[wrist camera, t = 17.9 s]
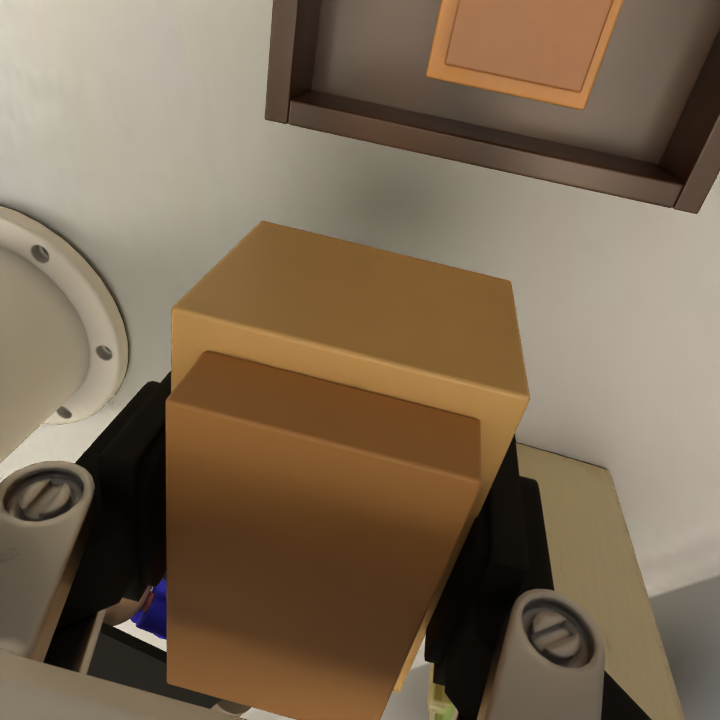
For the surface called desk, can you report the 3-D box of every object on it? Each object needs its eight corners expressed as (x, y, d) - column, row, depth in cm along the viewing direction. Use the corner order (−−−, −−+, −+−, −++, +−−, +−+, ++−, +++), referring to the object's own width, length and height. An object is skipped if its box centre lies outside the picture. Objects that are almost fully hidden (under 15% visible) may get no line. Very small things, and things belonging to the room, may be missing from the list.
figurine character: (304, 601, 41) (110, 514, 36) (285, 715, 34) (49, 626, 30) (261, 637, 44) (79, 562, 40) (236, 746, 38) (18, 671, 34)
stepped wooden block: (235, 495, 14) (139, 691, 10) (261, 218, 10) (120, 353, 6) (415, 543, 14) (393, 761, 10) (512, 279, 10) (543, 461, 6)
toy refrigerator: (472, 424, 28) (473, 1100, 11) (612, 466, 28) (851, 1220, 10) (427, 527, 33) (374, 1127, 15) (548, 562, 32) (641, 1214, 15)
